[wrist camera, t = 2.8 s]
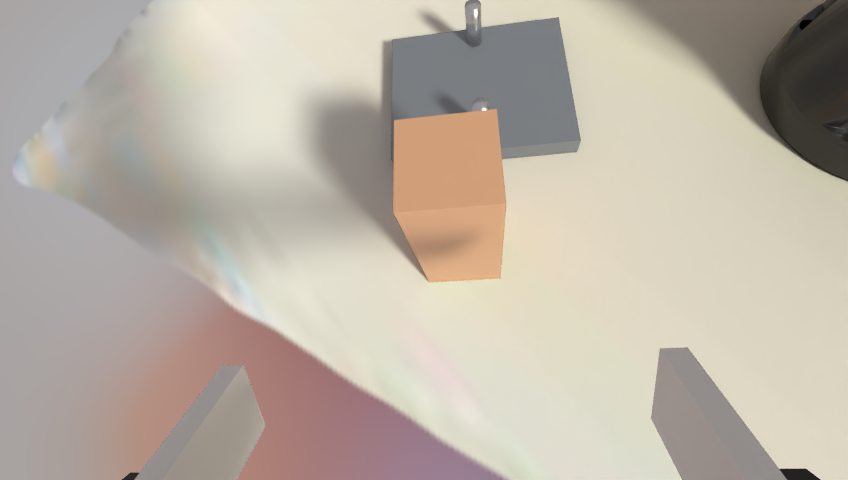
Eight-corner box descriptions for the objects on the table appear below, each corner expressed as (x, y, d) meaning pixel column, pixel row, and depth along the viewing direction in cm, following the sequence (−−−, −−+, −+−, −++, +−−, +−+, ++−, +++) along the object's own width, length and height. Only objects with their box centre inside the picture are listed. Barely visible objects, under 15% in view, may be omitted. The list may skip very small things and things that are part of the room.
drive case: (494, 213, 31) (496, 108, 20) (500, 278, 29) (506, 203, 18) (427, 218, 32) (393, 120, 21) (429, 282, 30) (393, 212, 19)
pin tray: (555, 31, 36) (565, -22, 32) (577, 151, 32) (591, 109, 27) (396, 52, 38) (382, 4, 34) (395, 168, 34) (380, 132, 29)
